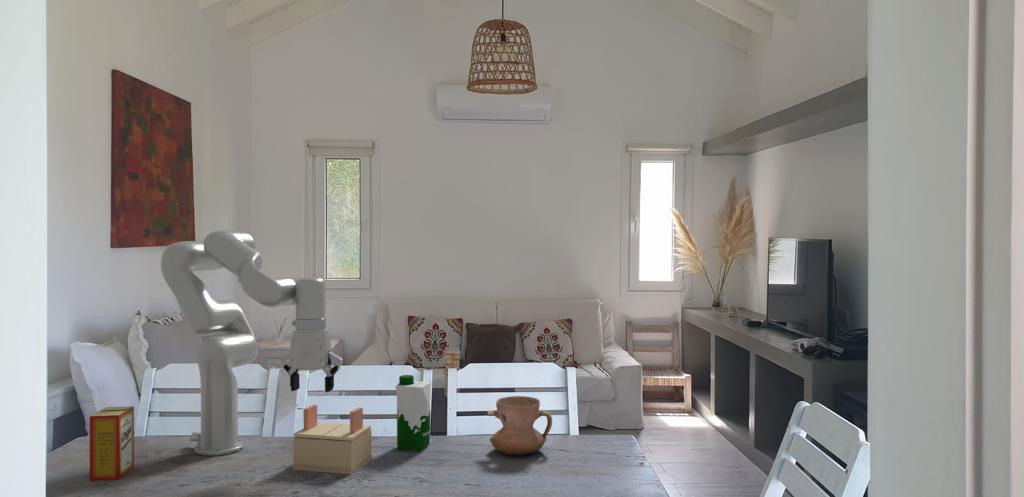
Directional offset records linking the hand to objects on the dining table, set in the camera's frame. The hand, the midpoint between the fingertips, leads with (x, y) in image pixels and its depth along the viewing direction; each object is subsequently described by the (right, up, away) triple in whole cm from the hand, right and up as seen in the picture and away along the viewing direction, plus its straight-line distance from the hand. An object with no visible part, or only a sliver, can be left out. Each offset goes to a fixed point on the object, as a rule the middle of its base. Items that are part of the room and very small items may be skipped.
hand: (312, 390), depth 180 cm
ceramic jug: (+54, -19, +11) cm, 59 cm away
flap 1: (+2, -11, 0) cm, 11 cm away
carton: (+6, -19, -1) cm, 20 cm away
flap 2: (+10, -11, -2) cm, 15 cm away
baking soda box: (-47, -19, -9) cm, 52 cm away
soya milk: (+25, -19, +14) cm, 34 cm away
